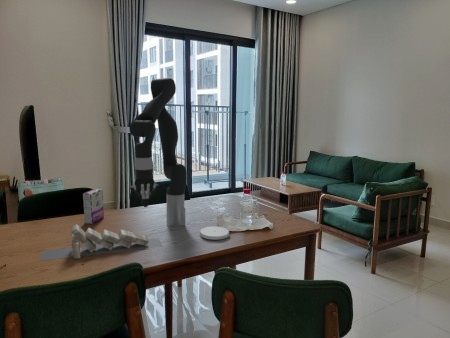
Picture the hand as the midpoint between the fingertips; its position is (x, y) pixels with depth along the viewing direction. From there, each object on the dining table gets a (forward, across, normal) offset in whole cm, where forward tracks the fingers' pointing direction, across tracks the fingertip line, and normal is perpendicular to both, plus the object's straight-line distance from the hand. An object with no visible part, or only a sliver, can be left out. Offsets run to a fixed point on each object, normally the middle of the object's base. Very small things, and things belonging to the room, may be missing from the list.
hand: (145, 206), depth 147 cm
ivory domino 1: (+16, +22, -1) cm, 27 cm away
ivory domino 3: (+16, +7, 0) cm, 17 cm away
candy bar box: (+18, +21, -44) cm, 52 cm away
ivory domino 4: (+16, 0, 0) cm, 16 cm away
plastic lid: (+19, -33, -2) cm, 38 cm away
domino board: (+18, +18, 0) cm, 25 cm away
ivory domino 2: (+16, +15, 0) cm, 22 cm away
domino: (+13, +29, -5) cm, 32 cm away
